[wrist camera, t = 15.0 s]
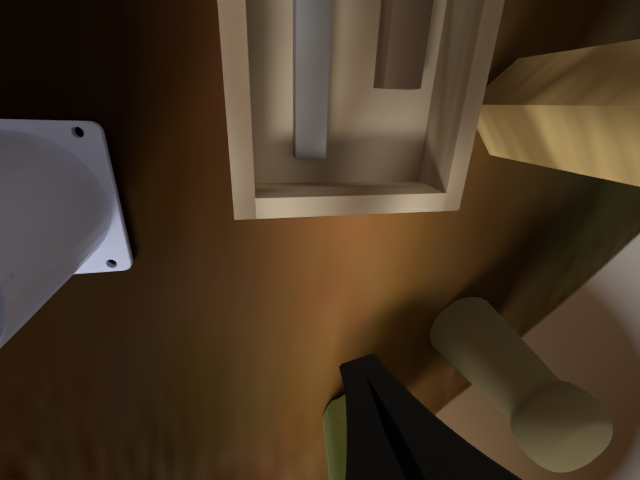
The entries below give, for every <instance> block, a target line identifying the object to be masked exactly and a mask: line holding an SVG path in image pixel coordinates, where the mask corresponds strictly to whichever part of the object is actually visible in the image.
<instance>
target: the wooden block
mask: <svg viewBox="0 0 640 480" xmlns="http://www.w3.org/2000/svg"><path fill="white" fill-rule="evenodd" d="M477 130H478V132H479V134H480V136H481V138H482V140H483V142H484V144H485V146H486V148H487V150H488V152H489V154H490V155H493V156H498V157H503V158H507V159H512V160H517V161H522V162H526V163H531V164H536V165H541V166H545V167H550V168H555V169H559V170H564V171H569V172H574V173H578V174H583V175H588V176H593V177H597V178H602V179H607V180H612V181H616V182H621V183H626V184H631V185H635V186H640V39H638V40H632V41H626V42H619V43H613V44H607V45H600V46H594V47H588V48H582V49H575V50H569V51H563V52H556V53H550V54H544V55H538V56H531V57H525V58H519V59H517V60H516V61H515V62H514V63H513V64H512V65H510V66H509V67H508V68H507V69H506V70H505V71H503V72H502V73H501V74H500V75H499V76H498V77H497V78H495V79H494V80H493V81H492V82H491V83H490V84H488V85H487V86H486V89H485V93H484V98H483V102H482V107H481V112H480V116H479V121H478V125H477Z"/></svg>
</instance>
